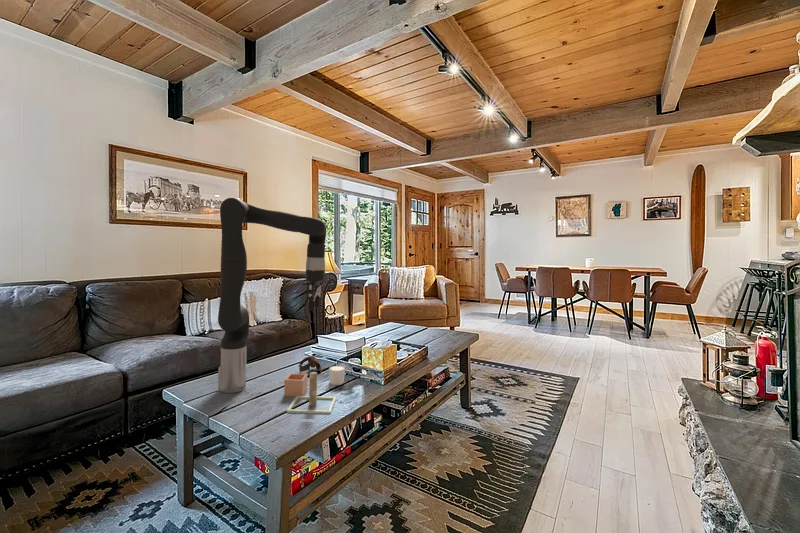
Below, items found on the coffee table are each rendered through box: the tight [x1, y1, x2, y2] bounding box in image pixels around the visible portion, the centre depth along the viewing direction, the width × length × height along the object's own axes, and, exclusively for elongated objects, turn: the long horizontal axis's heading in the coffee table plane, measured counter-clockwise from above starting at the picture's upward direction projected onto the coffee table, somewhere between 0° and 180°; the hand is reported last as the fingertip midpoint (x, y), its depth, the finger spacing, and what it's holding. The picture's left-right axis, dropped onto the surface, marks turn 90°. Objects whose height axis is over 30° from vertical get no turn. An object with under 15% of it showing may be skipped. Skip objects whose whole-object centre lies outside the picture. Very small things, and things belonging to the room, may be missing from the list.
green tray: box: [286, 395, 337, 415], centre depth 126 cm, size 15×12×2 cm
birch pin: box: [308, 371, 318, 408], centre depth 126 cm, size 3×3×12 cm
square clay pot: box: [283, 372, 309, 397], centre depth 137 cm, size 7×7×7 cm
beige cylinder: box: [328, 365, 346, 386], centre depth 148 cm, size 7×7×7 cm
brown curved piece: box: [298, 355, 323, 374], centre depth 162 cm, size 12×10×8 cm
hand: (314, 308), depth 142 cm, fingers open, 8 cm apart
